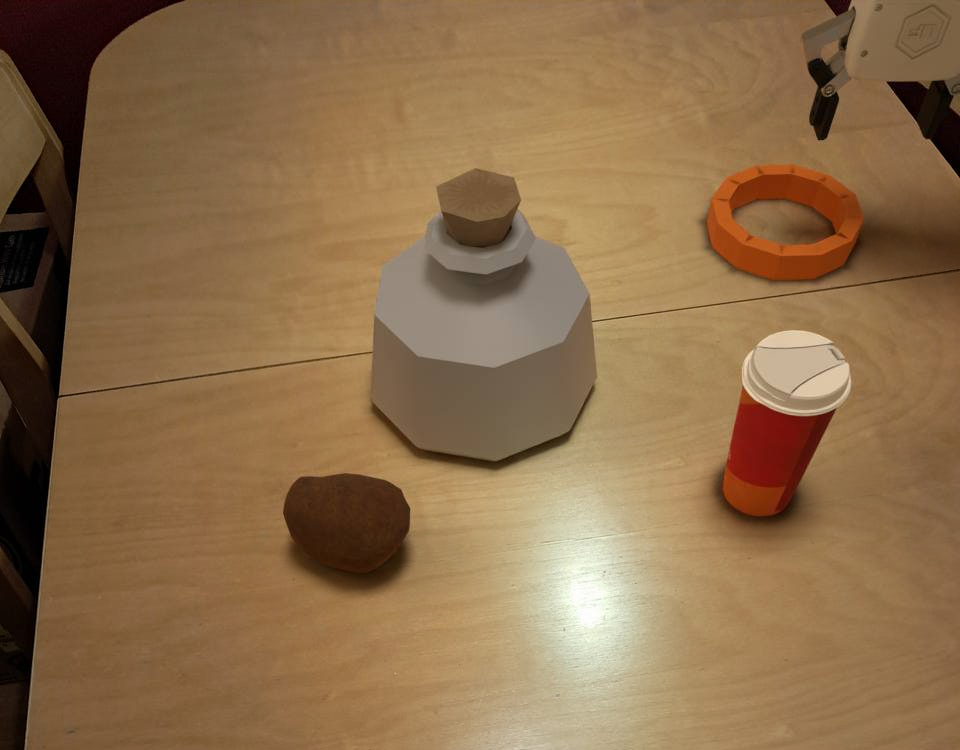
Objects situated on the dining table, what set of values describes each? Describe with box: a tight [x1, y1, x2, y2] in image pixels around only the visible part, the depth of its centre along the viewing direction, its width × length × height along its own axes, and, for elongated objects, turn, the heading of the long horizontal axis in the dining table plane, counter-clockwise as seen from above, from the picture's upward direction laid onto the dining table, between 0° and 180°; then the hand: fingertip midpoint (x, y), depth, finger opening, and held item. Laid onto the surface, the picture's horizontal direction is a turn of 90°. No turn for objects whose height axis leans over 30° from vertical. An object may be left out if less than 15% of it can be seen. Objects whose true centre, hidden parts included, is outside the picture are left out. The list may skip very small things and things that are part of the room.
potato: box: [282, 472, 411, 574], centre depth 74 cm, size 7×10×8 cm
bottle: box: [370, 167, 598, 463], centre depth 79 cm, size 20×20×19 cm
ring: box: [706, 163, 865, 281], centre depth 96 cm, size 14×14×3 cm
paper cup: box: [722, 329, 852, 517], centre depth 74 cm, size 8×8×14 cm
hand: (871, 131), depth 89 cm, fingers open, 9 cm apart
